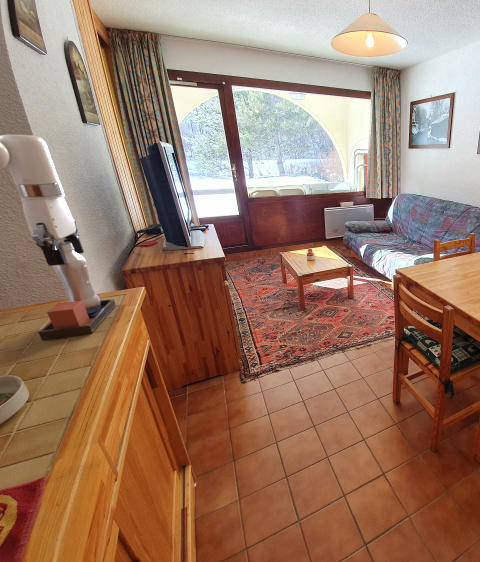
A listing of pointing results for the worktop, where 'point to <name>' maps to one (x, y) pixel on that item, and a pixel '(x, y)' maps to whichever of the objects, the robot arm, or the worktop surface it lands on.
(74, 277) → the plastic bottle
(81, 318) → the red block
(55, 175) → the robot arm
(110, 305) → the sorting tray
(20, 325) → the worktop surface
